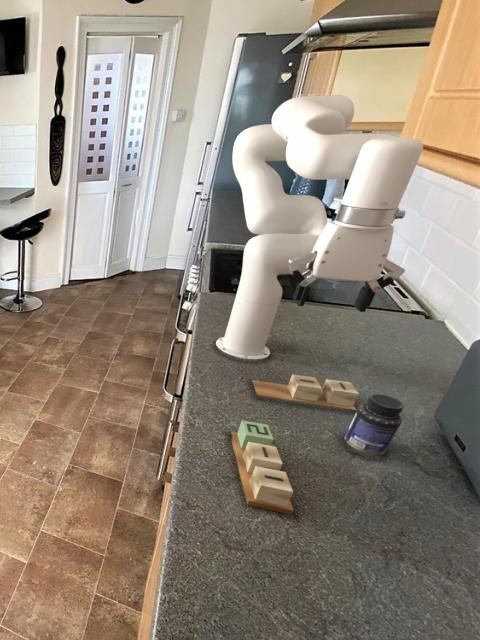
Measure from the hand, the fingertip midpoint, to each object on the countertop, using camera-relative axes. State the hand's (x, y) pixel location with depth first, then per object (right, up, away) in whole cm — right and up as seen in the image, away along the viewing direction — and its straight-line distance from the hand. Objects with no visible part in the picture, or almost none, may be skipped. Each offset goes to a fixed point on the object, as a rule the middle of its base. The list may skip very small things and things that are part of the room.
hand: (328, 306), depth 83 cm
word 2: (+6, -20, +14) cm, 25 cm away
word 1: (-16, -31, -4) cm, 35 cm away
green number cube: (-14, -27, +1) cm, 30 cm away
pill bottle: (+7, -27, 0) cm, 28 cm away
